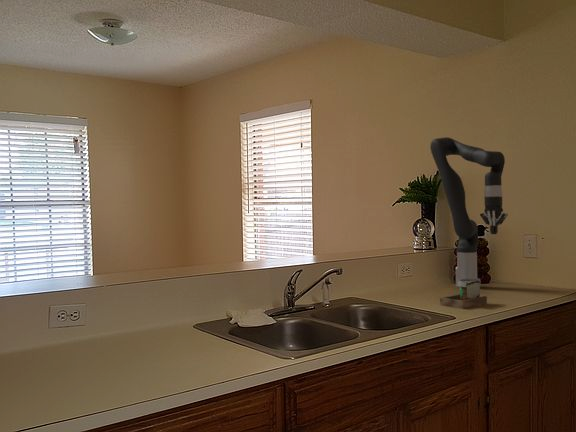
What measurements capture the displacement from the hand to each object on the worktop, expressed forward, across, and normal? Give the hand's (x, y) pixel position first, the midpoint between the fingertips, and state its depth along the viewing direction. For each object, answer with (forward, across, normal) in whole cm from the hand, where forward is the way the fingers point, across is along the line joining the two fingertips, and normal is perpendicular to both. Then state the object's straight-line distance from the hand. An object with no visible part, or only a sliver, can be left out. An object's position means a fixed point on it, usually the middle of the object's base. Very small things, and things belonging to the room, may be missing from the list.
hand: (494, 234), depth 241 cm
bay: (+27, +5, -30) cm, 41 cm away
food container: (+27, +5, -29) cm, 40 cm away
